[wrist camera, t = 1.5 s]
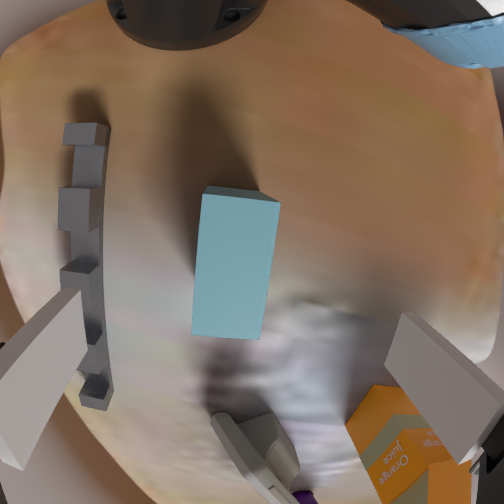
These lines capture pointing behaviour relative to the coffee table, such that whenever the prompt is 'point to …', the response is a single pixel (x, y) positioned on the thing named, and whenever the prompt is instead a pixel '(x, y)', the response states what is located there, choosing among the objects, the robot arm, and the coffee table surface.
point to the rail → (88, 252)
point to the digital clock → (260, 454)
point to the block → (233, 262)
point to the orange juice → (405, 452)
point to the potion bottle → (305, 497)
